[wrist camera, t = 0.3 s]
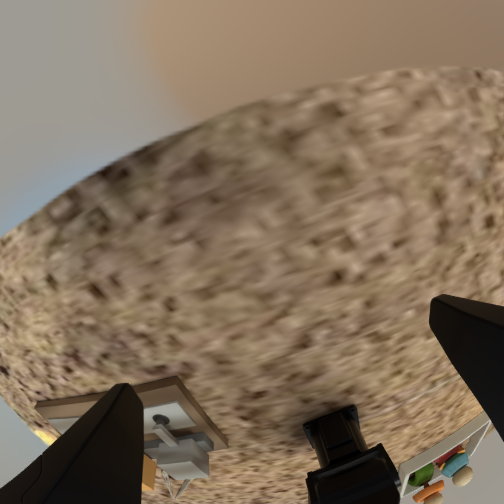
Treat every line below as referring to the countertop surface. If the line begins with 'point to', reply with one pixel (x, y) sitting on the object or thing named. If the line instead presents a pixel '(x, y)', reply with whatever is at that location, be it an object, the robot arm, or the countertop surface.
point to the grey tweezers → (170, 484)
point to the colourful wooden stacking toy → (450, 466)
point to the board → (156, 426)
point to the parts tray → (444, 451)
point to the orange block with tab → (148, 473)
